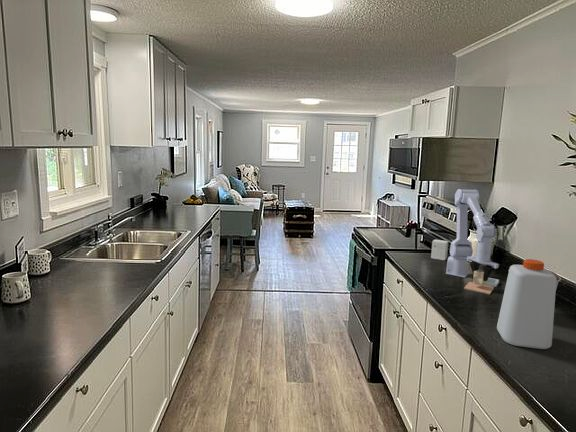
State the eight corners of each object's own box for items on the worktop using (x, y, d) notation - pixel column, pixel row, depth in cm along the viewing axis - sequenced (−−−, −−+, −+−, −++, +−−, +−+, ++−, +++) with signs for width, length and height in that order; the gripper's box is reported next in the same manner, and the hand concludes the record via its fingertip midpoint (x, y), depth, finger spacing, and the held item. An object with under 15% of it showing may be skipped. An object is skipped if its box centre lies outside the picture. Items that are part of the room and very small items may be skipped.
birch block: (472, 283, 195) (474, 270, 194) (478, 281, 198) (479, 269, 197) (481, 286, 192) (483, 273, 191) (487, 284, 194) (488, 272, 193)
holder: (478, 283, 203) (478, 280, 203) (481, 279, 209) (481, 276, 209) (496, 286, 198) (496, 283, 198) (498, 282, 205) (499, 279, 204)
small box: (446, 258, 245) (448, 241, 244) (444, 260, 241) (446, 242, 239) (432, 256, 250) (434, 239, 248) (430, 258, 245) (432, 240, 243)
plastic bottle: (538, 332, 151) (550, 257, 146) (555, 352, 136) (568, 270, 131) (493, 326, 154) (503, 253, 149) (504, 345, 140) (516, 265, 135)
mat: (463, 288, 194) (464, 287, 194) (469, 282, 203) (469, 281, 203) (489, 294, 188) (489, 293, 188) (494, 288, 197) (494, 286, 196)
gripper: (503, 253, 188) (500, 282, 191) (474, 246, 200) (471, 273, 203) (495, 255, 184) (491, 284, 187) (465, 248, 196) (462, 275, 199)
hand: (480, 279), depth 194 cm, fingers closed on birch block, 4 cm apart
